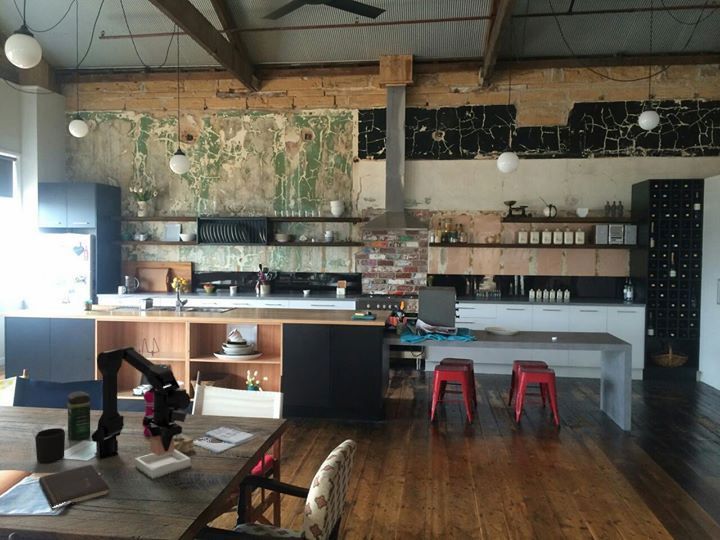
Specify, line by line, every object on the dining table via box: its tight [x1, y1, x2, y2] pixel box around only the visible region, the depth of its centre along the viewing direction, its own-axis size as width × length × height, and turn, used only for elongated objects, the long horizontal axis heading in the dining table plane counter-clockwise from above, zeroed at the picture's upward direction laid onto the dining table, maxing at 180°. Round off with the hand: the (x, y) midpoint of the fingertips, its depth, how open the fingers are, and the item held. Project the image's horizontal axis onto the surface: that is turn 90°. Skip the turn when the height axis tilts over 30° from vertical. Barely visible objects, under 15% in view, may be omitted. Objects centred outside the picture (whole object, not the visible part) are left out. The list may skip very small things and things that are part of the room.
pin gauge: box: [175, 426, 184, 442], centre depth 201 cm, size 2×2×8 cm
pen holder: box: [34, 427, 66, 465], centre depth 191 cm, size 9×9×10 cm
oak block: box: [173, 434, 194, 454], centre depth 201 cm, size 8×8×4 cm
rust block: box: [149, 435, 174, 456], centre depth 185 cm, size 6×6×5 cm
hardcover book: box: [38, 464, 111, 508], centre depth 169 cm, size 16×23×2 cm
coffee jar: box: [67, 390, 91, 441], centre depth 212 cm, size 10×8×19 cm
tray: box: [134, 449, 191, 480], centre depth 186 cm, size 14×14×3 cm
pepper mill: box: [141, 385, 154, 436], centre depth 218 cm, size 7×7×20 cm
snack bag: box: [193, 426, 255, 454], centre depth 211 cm, size 19×20×2 cm
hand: (162, 448), depth 185 cm, fingers closed on rust block, 6 cm apart
